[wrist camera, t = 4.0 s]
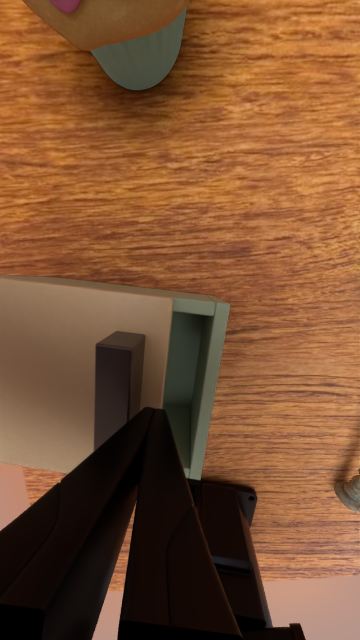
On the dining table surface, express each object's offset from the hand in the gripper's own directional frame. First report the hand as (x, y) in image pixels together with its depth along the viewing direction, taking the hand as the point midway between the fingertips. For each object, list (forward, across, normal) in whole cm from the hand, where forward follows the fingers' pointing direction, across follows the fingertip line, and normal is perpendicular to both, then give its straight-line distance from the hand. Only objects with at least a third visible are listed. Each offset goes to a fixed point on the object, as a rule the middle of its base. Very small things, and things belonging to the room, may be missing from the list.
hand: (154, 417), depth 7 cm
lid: (+1, +5, 0) cm, 6 cm away
